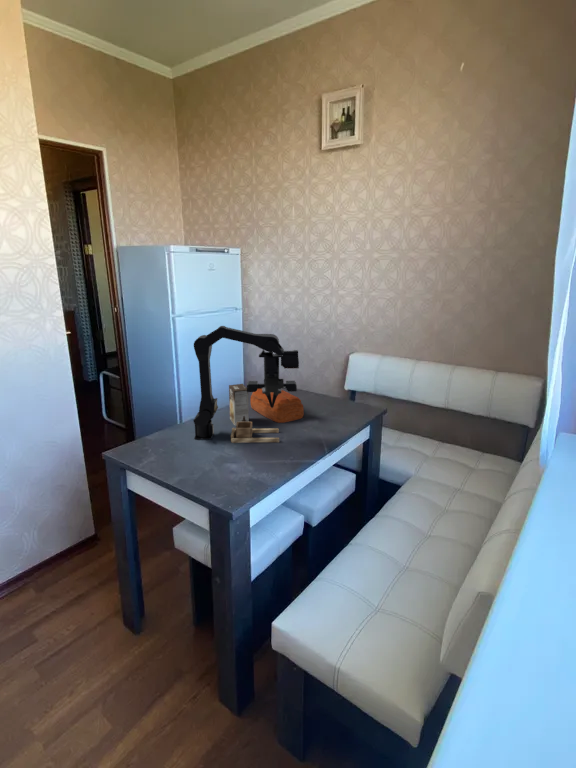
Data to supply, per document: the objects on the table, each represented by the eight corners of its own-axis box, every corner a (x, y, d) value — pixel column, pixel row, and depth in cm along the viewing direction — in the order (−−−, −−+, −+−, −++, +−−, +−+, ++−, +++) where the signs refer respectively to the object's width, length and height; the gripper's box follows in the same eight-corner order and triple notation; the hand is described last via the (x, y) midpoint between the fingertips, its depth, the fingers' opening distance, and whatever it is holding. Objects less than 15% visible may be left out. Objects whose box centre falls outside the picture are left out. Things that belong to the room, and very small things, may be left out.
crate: (236, 440, 161) (235, 428, 159) (237, 433, 168) (236, 421, 166) (251, 440, 161) (251, 428, 160) (252, 433, 168) (252, 421, 166)
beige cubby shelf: (230, 445, 159) (229, 438, 158) (232, 432, 170) (232, 426, 169) (283, 444, 160) (283, 437, 159) (282, 432, 171) (282, 425, 170)
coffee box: (229, 420, 184) (228, 384, 179) (243, 418, 186) (242, 383, 181) (234, 427, 176) (233, 390, 171) (249, 425, 178) (248, 389, 173)
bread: (275, 402, 207) (275, 382, 204) (306, 419, 186) (307, 396, 183) (247, 408, 199) (247, 386, 196) (276, 426, 178) (276, 402, 175)
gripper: (245, 374, 151) (246, 415, 155) (297, 373, 152) (297, 414, 156) (247, 366, 162) (248, 405, 166) (295, 366, 162) (295, 404, 167)
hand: (272, 407), depth 163 cm, fingers closed
